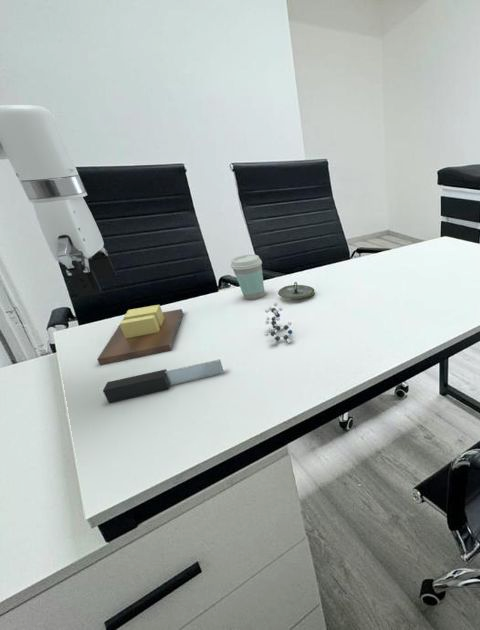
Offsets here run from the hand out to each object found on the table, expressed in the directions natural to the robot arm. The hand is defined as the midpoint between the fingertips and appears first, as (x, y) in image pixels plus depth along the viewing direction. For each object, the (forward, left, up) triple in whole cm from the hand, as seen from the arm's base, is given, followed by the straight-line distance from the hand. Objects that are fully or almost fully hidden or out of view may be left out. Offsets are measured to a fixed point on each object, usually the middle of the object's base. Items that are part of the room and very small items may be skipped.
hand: (99, 285), depth 71 cm
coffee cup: (+23, +36, -21) cm, 48 cm away
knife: (+6, -6, -21) cm, 22 cm away
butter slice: (-3, +19, -19) cm, 27 cm away
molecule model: (+28, +6, -21) cm, 36 cm away
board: (-3, +21, -21) cm, 29 cm away
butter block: (-3, +25, -19) cm, 31 cm away
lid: (+35, +29, -21) cm, 50 cm away
